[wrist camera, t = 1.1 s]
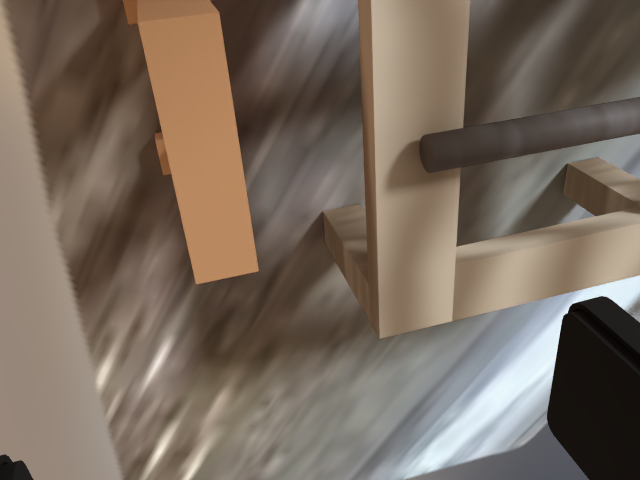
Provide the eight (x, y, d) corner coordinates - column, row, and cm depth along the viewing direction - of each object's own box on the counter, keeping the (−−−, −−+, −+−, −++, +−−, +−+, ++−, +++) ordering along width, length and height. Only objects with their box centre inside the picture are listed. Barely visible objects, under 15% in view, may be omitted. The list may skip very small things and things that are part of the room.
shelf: (325, 243, 38) (391, 359, 28) (297, -116, 27) (385, -130, 18) (592, 188, 42) (731, 273, 32) (654, -145, 31) (887, -169, 22)
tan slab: (162, 167, 32) (175, 293, 22) (118, -24, 27) (107, 18, 17) (233, 155, 33) (279, 271, 22) (202, -34, 28) (244, 2, 17)
